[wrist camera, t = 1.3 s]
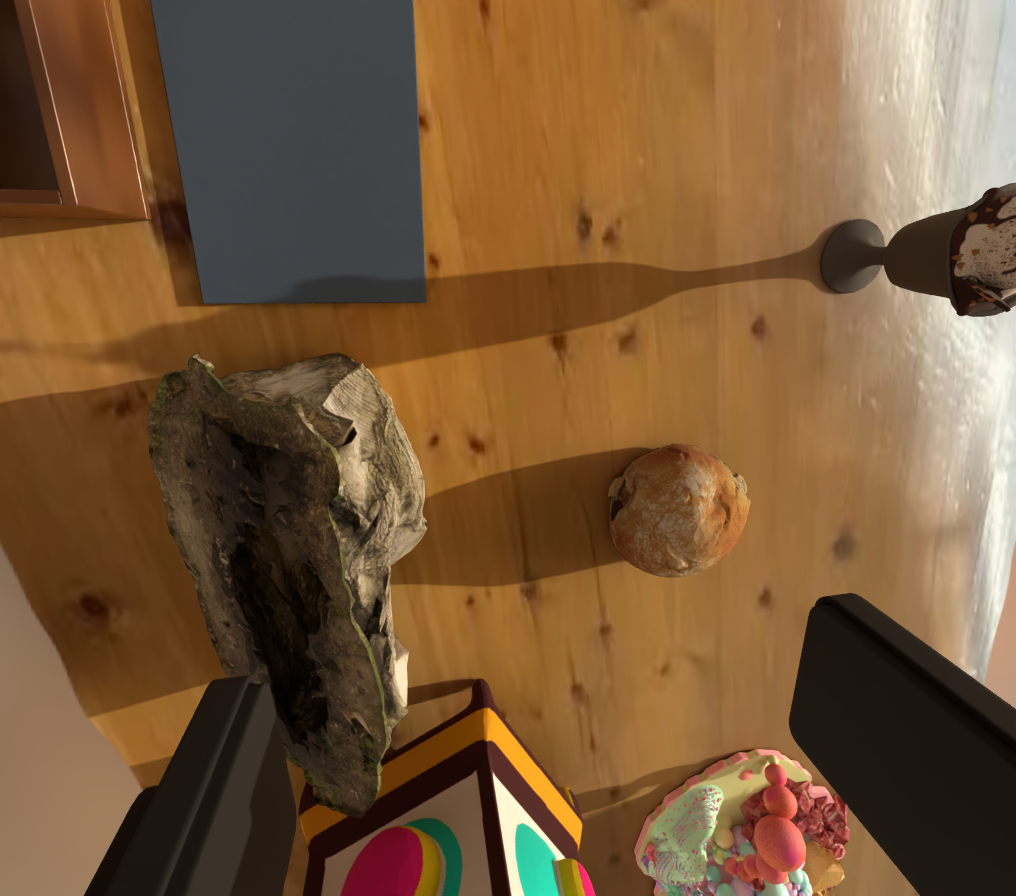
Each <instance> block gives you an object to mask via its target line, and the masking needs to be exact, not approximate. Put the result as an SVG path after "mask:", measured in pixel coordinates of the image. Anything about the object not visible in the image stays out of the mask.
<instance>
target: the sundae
mask: <svg viewBox="0 0 1016 896" xmlns="http://www.w3.org/2000/svg"><path fill="white" fill-rule="evenodd" d="M882 265H884V269H885V272H886V274H887V276H888V279H889V280H890V282H891V283H892V284H894V285H896V286H898V287H901V288H904V289H907V290H911V291H914V292H918V293H924V294H929V295H935V296H940V297H946V298H949V299H950V301H951V304H952V306H953V308H954V309H955V310H956V311H957V314H958V315H959V316H965V315H968V316H973V317H983V316H992V315H997V314H999V313H1002V312H1005V311H1006V312H1008V311H1010V310H1011V309H1010V308H1012V307H1014V306H1015V305H1016V183H1011V184H1008V185H1005V186H1003V187H1000V188H991V189H989V190H987V191H986V192H985V193H984V195H983V197H982V198H981V199H979V200H978V201H977V202H975V203H974V204H973V205H970V206H968V207H966V208H962V209H958V210H953V211H949V212H945V213H941V214H937V215H933V216H930V217H927V218H925V219H922V220H919V221H916V222H913V223H911V224H908V225H907V226H905V227H903V228H902V229H901V230H899V231H898V232H897V233H896V234H895V235H894V237H893V238H892V239H891V241H890V242H889V244H888V246H887V247H885V244H884V237H883V235H882V232H881V230H880V229H879V228H878V226H877V225H875V224H874V223H872V222H870V221H868V220H865V219H856V220H852V221H849V222H847V223H845V224H843V225H842V226H840V227H839V228H838V229H837V230H836V231H835V232H834V233H833V234H832V235H831V237H830V239H829V240H828V242H827V244H826V246H825V248H824V251H823V256H822V263H821V266H822V273H823V277H824V279H825V281H826V283H827V284H828V285H829V287H830V288H832V289H833V290H835V291H837V292H839V293H853V292H856V291H858V290H860V289H862V288H864V287H865V286H866V285H868V284H869V283H870V282H871V281H872V280H873V279H874V278H875V277H876V275H877V273H878V272H879V270H880V268H881V266H882Z"/></svg>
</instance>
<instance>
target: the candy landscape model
mask: <svg viewBox="0 0 1016 896" xmlns="http://www.w3.org/2000/svg"><path fill="white" fill-rule="evenodd" d="M811 781H812V777H811V775H810V774H809V773H808V771H807V770H805V769H803V768H802V767H801V766H800V764H799V763H798V762H797V761H795V760H789V759H788V758H787V757H786V756H784V755H781V754H780V752H779V751H775V750H763V749H754V750H752V751H750V752H748V753H744V752H739V753H736V754H735V755H733V756H731V757H729V758H728V759H726V760H719V761H718V762H716V763H714V764H712V765H711V766H710V767H708V768H706V769H705V770H704V772H703V773H702V774H700V775H695V776H693V777H691V778H689V779H687V780H686V781H685V783H684V785H682V786H680V787H679V788H677V789H676V790H674V791H672V792H671V793H669V794H667V795H666V796H665V797H664V800H663V802H662V804H661V805H659V806H657V807H656V808H655V810H654V812H653V813H651V814H649V815H648V816H647V819H646V821H645V823H644V825H643V828H642V831H641V833H640V836H639V838H638V841H637V844H636V846H635V849H634V852H635V855H636V861H637V864H638V866H639V868H640V869H641V870H642V872H643V874H645V875H648V876H651V877H652V878H653V879H654V880H656V886H655V888H654V895H655V896H834V895H833V894H832V895H827V892H826V888H828V890H829V891H830V888H831V887H832V886H833V887H834V889H835V886H836V885H838V884H839V883H840V882H841V880H842V879H843V878H844V877H845V876H844V871H843V869H842V868H841V865H840V862H839V863H838V860H839V859H841V858H843V857H844V855H845V850H844V844H845V843H847V842H848V841H849V837H850V829H849V824H847V805H846V804H845V802H844V801H843V800H842V799H841V798H840V797H839V796H837V795H836V794H834V796H833V797H831V795H830V793H829V792H828V791H827V790H826V788H825V787H820V786H813V785H812V784H811Z"/></svg>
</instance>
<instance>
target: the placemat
mask: <svg viewBox="0 0 1016 896" xmlns="http://www.w3.org/2000/svg"><path fill="white" fill-rule="evenodd" d="M150 2H151V8H152V14H153V20H154V25H155V31H156V37H157V43H158V48H159V54H160V60H161V65H162V71H163V77H164V83H165V88H166V94H167V100H168V105H169V111H170V117H171V123H172V128H173V134H174V140H175V146H176V151H177V157H178V163H179V168H180V174H181V180H182V186H183V191H184V197H185V203H186V209H187V214H188V220H189V226H190V231H191V237H192V243H193V249H194V254H195V260H196V266H197V271H198V277H199V283H200V289H201V294H202V300H203V303H204V304H212V303H419V302H426V281H425V259H424V236H423V213H422V190H421V167H420V144H419V121H418V98H417V75H416V52H415V30H414V7H413V0H150Z"/></svg>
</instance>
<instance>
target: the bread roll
mask: <svg viewBox="0 0 1016 896" xmlns="http://www.w3.org/2000/svg"><path fill="white" fill-rule="evenodd" d="M746 492H747V485H746V484H745V482H744V478H743V477H742V476H740V475H739V474H738V473H736V475H733V476H732V474H731V472H730V471H729V469H728V468H727V466H726V465H725V463H722V462H721V461H720V459H719V458H718V456H716V455H713V454H711V453H708V452H706V451H703V450H701V449H700V448H699V447H698V446H692V445H686V444H671V445H669V446H665V447H662V448H657V449H656V450H654V451H652V452H650V453H648V454H645V455H643V456H641V457H639V458H638V459H636V460H635V461H633V462H632V463H631V464H630V465H629V466H628V467H627V469H626V470H625V472H624V474H623V476H622V477H617V478H614V480H613V482H612V483H611V485H610V487H609V491H608V497H611V502H610V512H609V520H610V523H609V529H610V533H611V538H612V541H613V544H614V545H615V547H616V549H617V550H618V552H619V553H620V555H621V556H623V558H624V559H625V560H627V561H628V562H629V563H630V564H632V565H633V566H635V567H636V568H639V569H641V570H642V571H644V572H647V573H650V574H653V575H656V576H660V577H683V576H688V575H694V574H697V573H700V572H701V571H703V570H705V569H707V568H709V567H710V566H712V565H713V564H714V563H716V562H717V561H719V560H721V559H722V558H723V557H725V556H726V555H727V554H728V553H729V552H730V551H731V550H732V549H733V547H734V546H735V544H736V543H737V541H738V539H739V537H740V535H741V533H742V530H743V527H744V526H745V525H746V518H747V516H748V512H749V506H750V500H749V499H748V498H747V497H746V496H745V493H746Z"/></svg>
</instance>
